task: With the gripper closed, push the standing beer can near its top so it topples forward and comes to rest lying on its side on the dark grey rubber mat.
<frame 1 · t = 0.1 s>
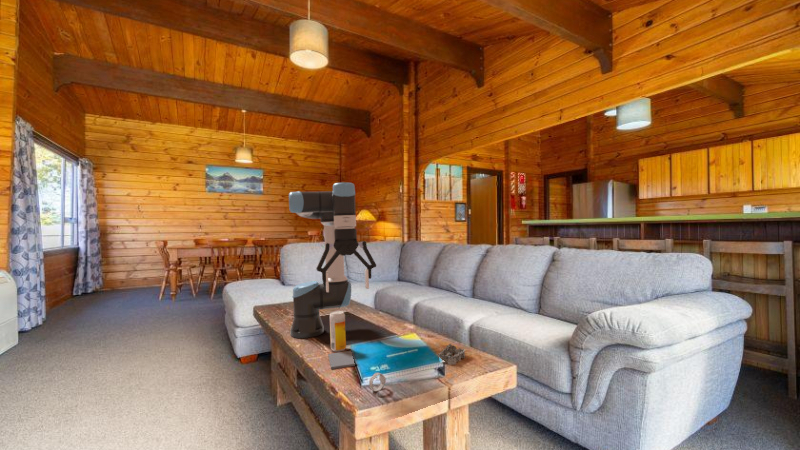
hand: (347, 289, 123), 28 cm above the table, tool pointing down, fingers open, 13 cm apart
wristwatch: (377, 390, 109), on the table
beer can: (338, 350, 144), on the table
mat: (341, 360, 133), on the table
egg carton: (452, 360, 131), on the table
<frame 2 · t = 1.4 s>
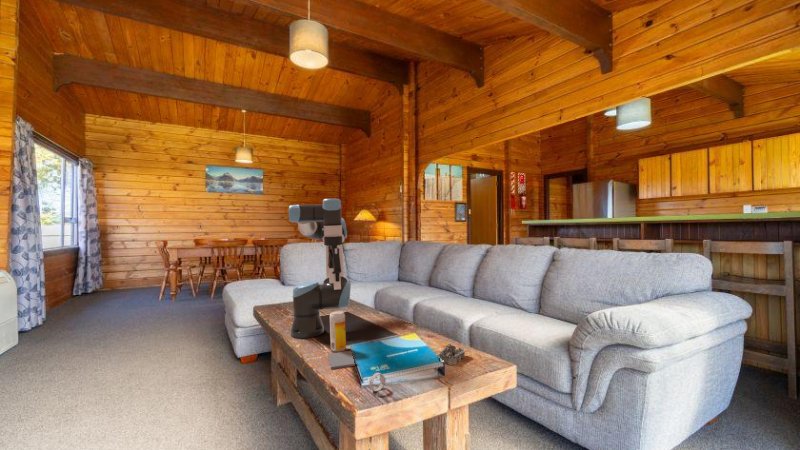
hand: (335, 286, 151), 24 cm above the table, tool pointing down, fingers open, 13 cm apart
nothing on the table moved.
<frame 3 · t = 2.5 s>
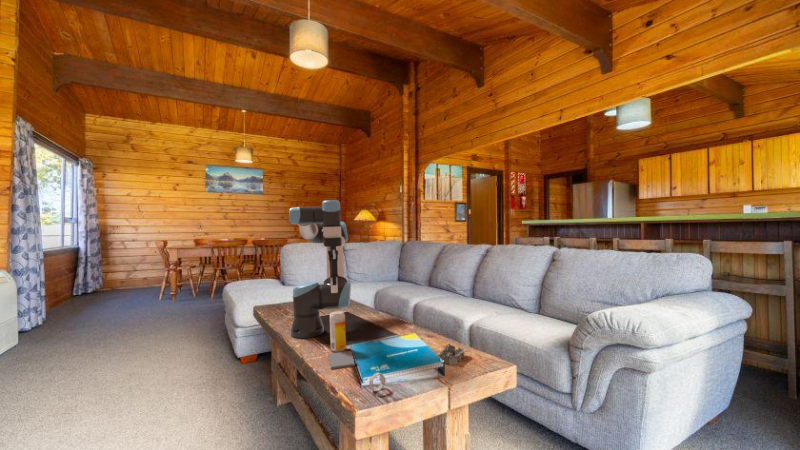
hand: (334, 292, 152), 22 cm above the table, tool pointing down, fingers closed
nothing on the table moved.
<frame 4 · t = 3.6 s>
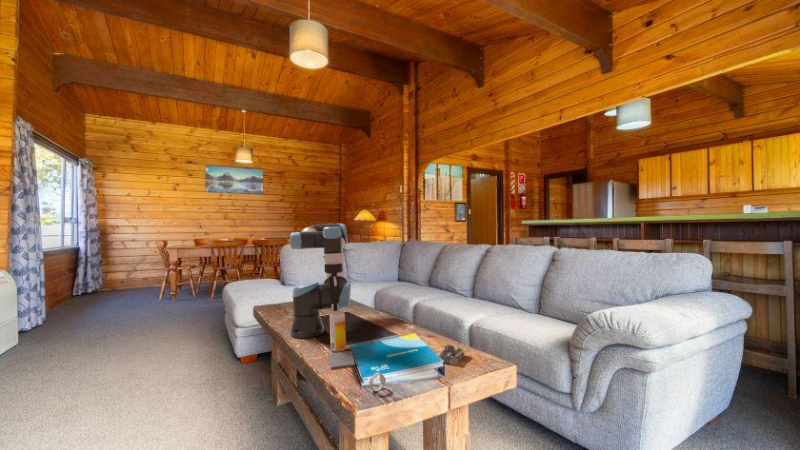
hand: (335, 318, 152), 10 cm above the table, tool pointing down, fingers closed
nothing on the table moved.
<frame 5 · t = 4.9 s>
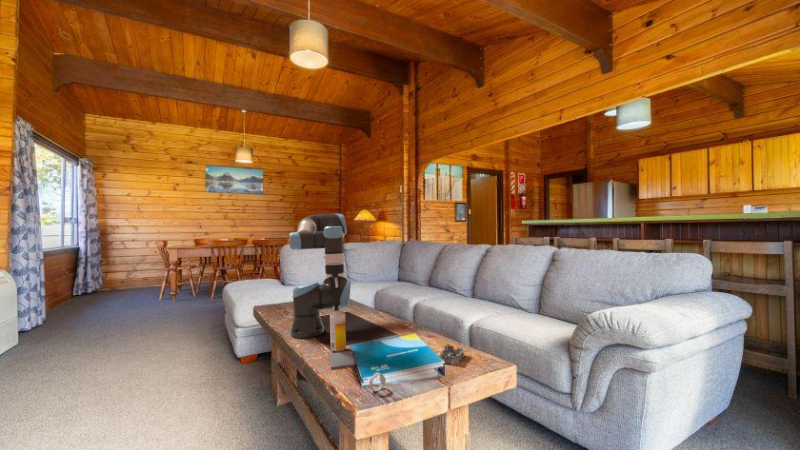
hand: (336, 321, 147), 11 cm above the table, tool pointing down, fingers closed
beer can: (338, 349, 144), on the table, touching gripper
everything else where it was.
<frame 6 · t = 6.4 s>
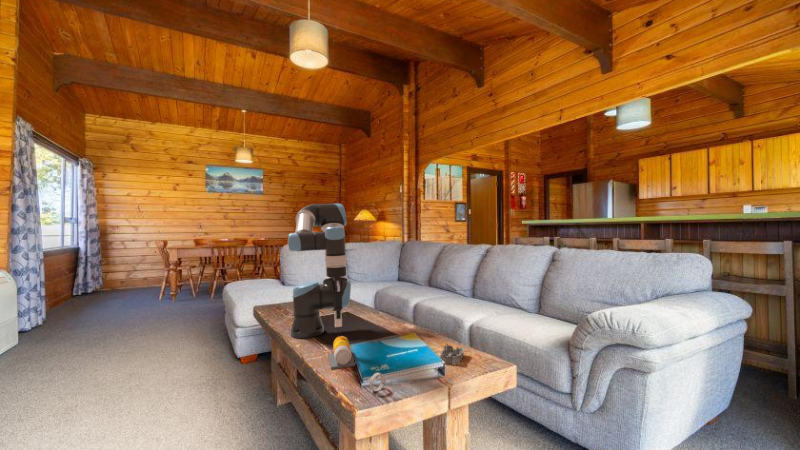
hand: (338, 326, 140), 10 cm above the table, tool pointing down, fingers closed
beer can: (341, 343, 142), point 3 cm above the table, touching mat
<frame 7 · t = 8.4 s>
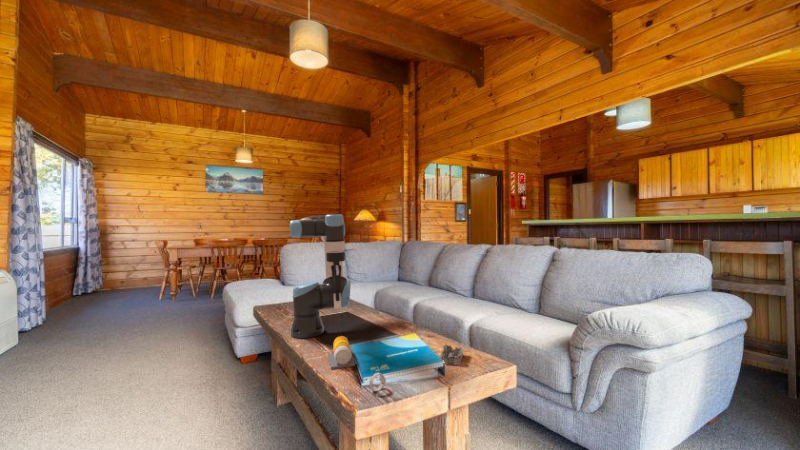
hand: (337, 308, 149), 16 cm above the table, tool pointing down, fingers closed
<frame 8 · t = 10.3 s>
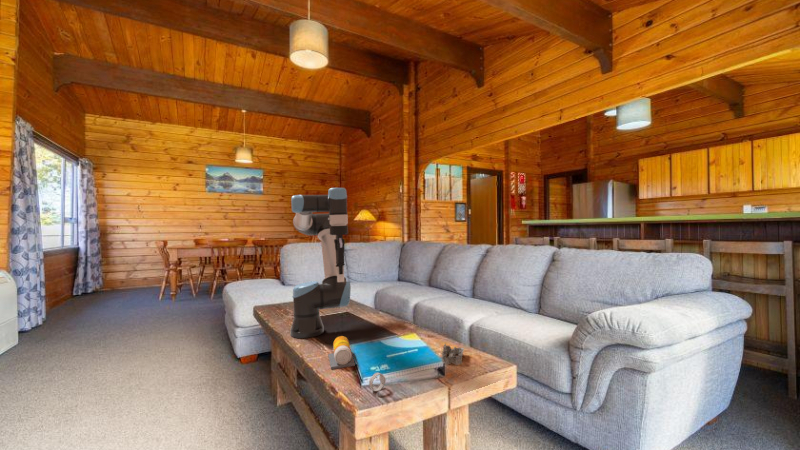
hand: (340, 281, 149), 26 cm above the table, tool pointing down, fingers closed
at the end: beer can tilted 90°; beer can inside the target area (9.7 cm from its centre), point 3.4 cm above the table; the gripper is holding nothing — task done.
